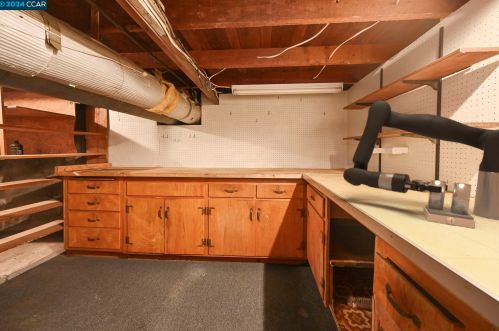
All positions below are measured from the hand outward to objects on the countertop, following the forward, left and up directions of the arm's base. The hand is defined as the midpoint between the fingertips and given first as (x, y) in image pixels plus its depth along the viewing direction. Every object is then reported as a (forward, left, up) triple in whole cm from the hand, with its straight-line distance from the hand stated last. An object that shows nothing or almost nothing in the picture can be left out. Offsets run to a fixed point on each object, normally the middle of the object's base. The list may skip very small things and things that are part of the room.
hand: (444, 189), depth 83 cm
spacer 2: (+2, +4, -7) cm, 9 cm away
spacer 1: (-1, -2, -7) cm, 8 cm away
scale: (+1, +1, -11) cm, 11 cm away
